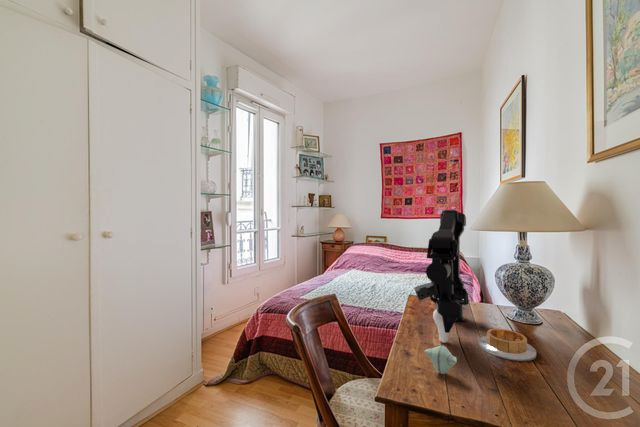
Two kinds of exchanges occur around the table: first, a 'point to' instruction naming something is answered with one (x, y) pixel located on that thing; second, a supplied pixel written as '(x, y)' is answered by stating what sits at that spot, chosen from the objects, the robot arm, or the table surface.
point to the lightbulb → (440, 327)
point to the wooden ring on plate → (507, 345)
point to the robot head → (441, 358)
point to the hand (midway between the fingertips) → (443, 326)
